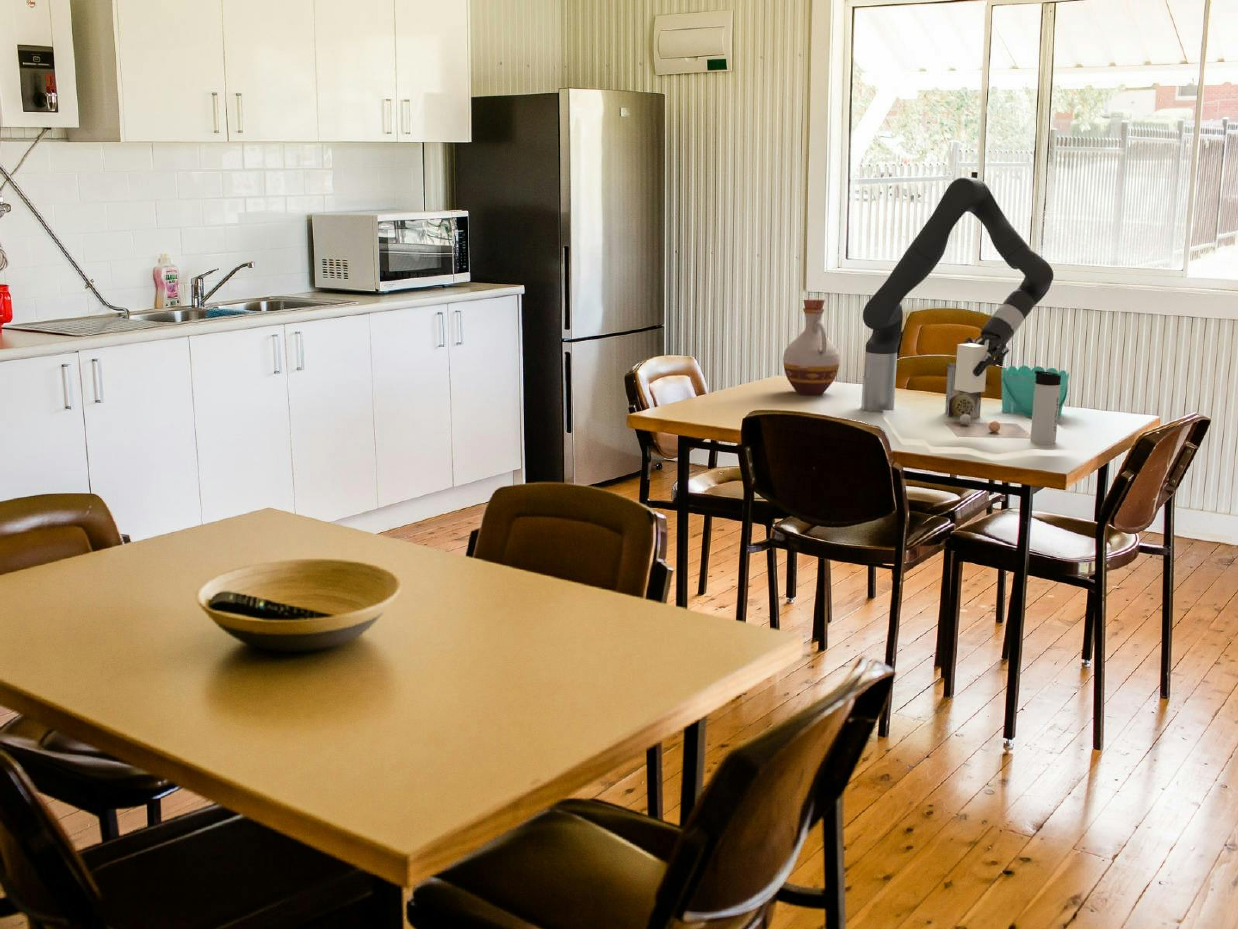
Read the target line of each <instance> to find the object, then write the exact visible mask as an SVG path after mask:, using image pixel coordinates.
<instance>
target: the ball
mask: <svg viewBox="0 0 1238 929" xmlns="http://www.w3.org/2000/svg"><path fill="white" fill-rule="evenodd" d="M989 423H990V424H989V430H990V431H992V432H997V431H999V429H1000V424H999V423H1000V422H998V421H996V420H993V421H990V422H989Z"/></svg>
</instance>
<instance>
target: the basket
mask: <svg viewBox="0 0 1238 929" xmlns="http://www.w3.org/2000/svg"><path fill="white" fill-rule="evenodd" d="M1035 370H1038V371H1045V372H1051V373H1056V374H1058V375H1061V381H1060V382H1061V386H1060V398H1059V409H1058V417H1061V416H1060V415H1062V411H1063V410H1062V409H1063V406H1064V403H1065V401H1066V399H1067V395H1068V388H1069V386H1068V384H1069V382H1068V381H1069V376H1070V372H1069V371H1068V372H1067V371H1066V370H1064V369H1062V370H1060V371H1059V372H1058V370H1057V369H1056V368H1055V367H1050V368H1047V369H1046V370H1045V369H1044V367H1042V366H1034V367H1032V369H1031V368H1030V367H1029V366H1027V365H1022V366H1019V367H1018V368H1017V367H1016V366H1014V365H1010V366H1009V367H1008V369H1007V367H1005V366H1004V367H1002V369H1001V370H1000V371H1001V378H1000V380H1001V411H1002V413H1004V414H1022V415H1023V416H1024V417H1026V418H1031V419H1032V414H1033V402H1034V390H1035V381H1036V374H1035Z"/></svg>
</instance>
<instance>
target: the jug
mask: <svg viewBox="0 0 1238 929" xmlns="http://www.w3.org/2000/svg"><path fill="white" fill-rule="evenodd" d="M802 301H803V304H804V305H803V306H804V308H802V309H803V313H804V318H805V328H804V330H803V331H802V332H801V333H800V334H799V335H798V336H797V337H796V338H795V339H794V340H793V341H792V342H790V343H789V344H788V346H787V347H786V348H785V349H784V353H783V356H782V362H783V363H782V364H783V369H784V373H785V376H786V379H787V380H788V382H789V383H790V385H791V386H792V388H793V389H794V391H795V392H796V393H797V394H798V395H801V396H821V395H823V394H824V393H825V392H826V391H827V389H829V388H830V386H831V385H832V383H833V382H834V381H835V378H836V376H837V374H838V372H839V368H840V363H841V356H840V352H839V350H838V347H836V345H835V344H834V343H833V342H832V341H831V340H830V339H829V338H828V337H827V332H826V329H825V328H826V327H825V326H824V323H823V322H822V317H823V314H824V312H825V308H824V304H825V301H826V300H825V299H815V298H814V299H803V300H802Z"/></svg>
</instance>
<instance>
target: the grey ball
mask: <svg viewBox="0 0 1238 929" xmlns="http://www.w3.org/2000/svg"><path fill="white" fill-rule="evenodd" d="M959 422H960V423H961V424H963V425H968V424H969V423H970V422H972V418H971V417H970V416H969V415H967V414H964V415H962V416H961V417H959Z"/></svg>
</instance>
